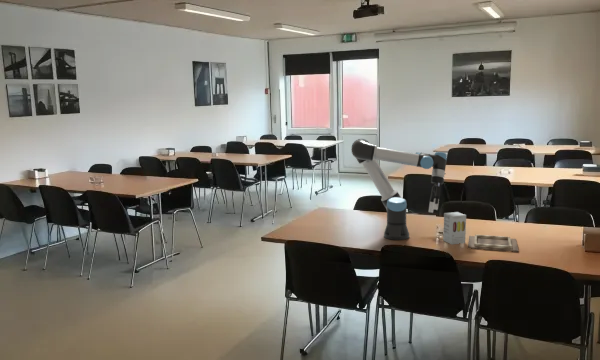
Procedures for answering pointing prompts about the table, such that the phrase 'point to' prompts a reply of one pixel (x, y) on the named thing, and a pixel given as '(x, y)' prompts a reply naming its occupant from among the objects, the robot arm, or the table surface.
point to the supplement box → (454, 227)
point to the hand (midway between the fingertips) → (432, 211)
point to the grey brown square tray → (493, 243)
